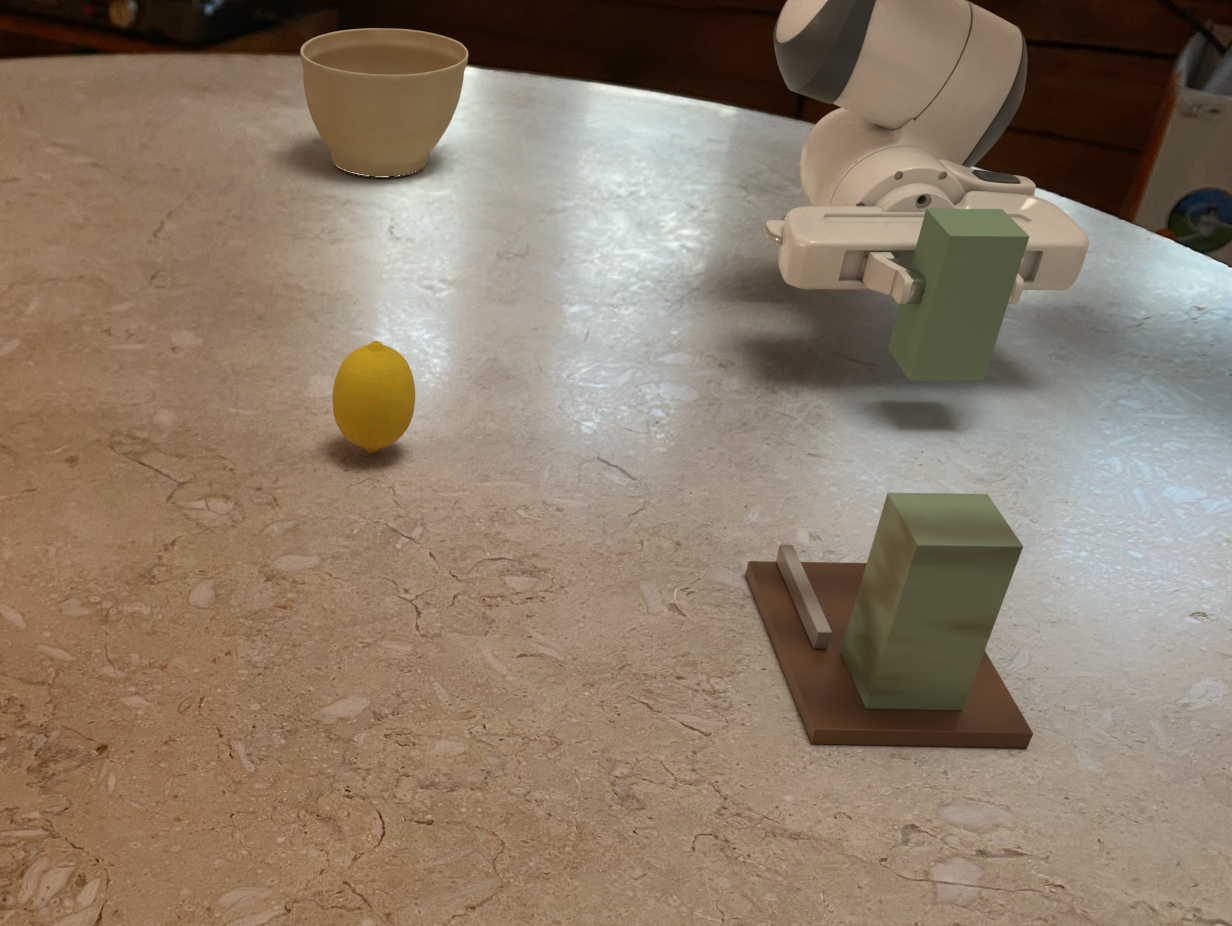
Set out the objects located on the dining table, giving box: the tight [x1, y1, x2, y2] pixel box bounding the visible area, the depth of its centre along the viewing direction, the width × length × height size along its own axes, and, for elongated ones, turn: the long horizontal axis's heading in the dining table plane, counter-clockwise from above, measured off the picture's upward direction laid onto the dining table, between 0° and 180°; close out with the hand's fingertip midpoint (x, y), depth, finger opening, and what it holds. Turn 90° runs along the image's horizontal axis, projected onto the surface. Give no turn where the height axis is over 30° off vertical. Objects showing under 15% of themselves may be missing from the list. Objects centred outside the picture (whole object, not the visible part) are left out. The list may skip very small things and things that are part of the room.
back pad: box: [887, 209, 1029, 382], centre depth 98 cm, size 5×5×10 cm
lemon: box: [332, 340, 416, 454], centre depth 97 cm, size 6×6×8 cm
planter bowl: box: [299, 27, 469, 179], centre depth 143 cm, size 16×16×11 cm
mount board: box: [744, 492, 1034, 749], centre depth 78 cm, size 16×11×11 cm
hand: (962, 293), depth 97 cm, fingers closed on back pad, 5 cm apart
